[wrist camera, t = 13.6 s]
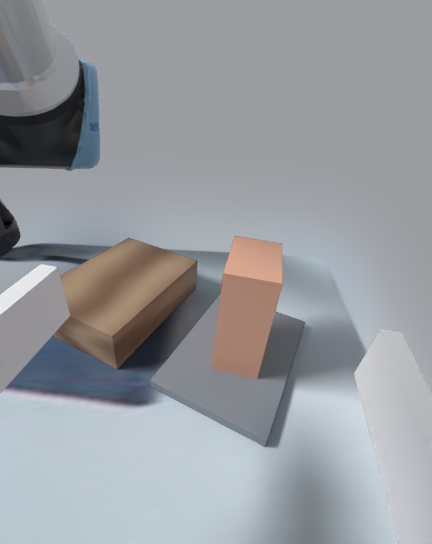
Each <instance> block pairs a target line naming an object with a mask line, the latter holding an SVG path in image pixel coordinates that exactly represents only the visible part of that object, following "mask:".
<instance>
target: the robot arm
mask: <svg viewBox="0 0 432 544" xmlns="http://www.w3.org/2000/svg"><path fill="white" fill-rule="evenodd" d="M98 103H99V100H98V82H97V71H96V68H95V67H94V66H93V65H92V64H91V63H88V62H85V61H84V60H81V59H78V58H77V55H76V52H75V49H74V47H73V45H72V44H71V42H70V40H69V39H68V38H67V36H66V35H65V34H64V33H63V32H62V31H61V30H60V29H59V28H58V27H57V26H55V25H54V24H53V23H51V22H50V21H49V17H48V14H47V11H46V7H45V4H44V1H43V0H0V167H8V168H49V169H66V170H68V171H70V170H73V169H89V168H93V167H94V166H96V165H97V164H98V162H99V159H100V133H99V104H98ZM19 239H20V232H19V228H18V225H17V222H16V220H15V218H14V217H13V215H12V214H11V213H10V211H9V210H8V209H7V208H6V206H5V205H4V204H3V202H2V201H1V200H0V255H1V254H3V253H5V252H7V251H8V250H10V249H11V248H12V247H13V246H15V245H16V244H17V242H18V241H19ZM69 316H70V312H69V309H68V305H67V301H66V297H65V293H64V290H63V286H62V282H61V278H60V274H59V271H58V267H54V266H49V265H44V264H40V265H39V266H38V267H36V268H35V269H34V270H32V271H31V272H30V273H28V274H27V275H26V276H24V277H23V278H22V279H20V280H19V281H18V282H16V283H15V284H14V285H13V286H11V287H10V288H9V289H7V290H6V291H5V292H3V293H2V294H1V295H0V393H1V392H2V391H3V390H4V389H5V388H6V387H7V385H8V384H9V383H10V382H11V381H12V380H13V379H14V378H15V377H16V375H17V374H18V373H19V372H20V371H21V370H22V369H23V368H24V367H25V365H26V364H27V363H28V362H29V361H30V360H31V359H32V358H33V356H34V355H35V354H36V353H37V352H38V351H39V350H40V349H41V348H42V346H43V345H44V344H45V343H46V342H47V341H48V340H49V339H50V338H51V336H52V335H53V334H54V333H55V332H56V331H57V330H58V329H59V327H60V326H61V325H62V324H63V323H64V322H65V321H66V320H67V319H68V317H69ZM354 376H355V380H356V384H357V388H358V392H359V395H360V399H361V403H362V407H363V411H364V414H365V418H366V422H367V426H368V430H369V433H370V437H371V441H372V445H373V449H374V453H375V456H376V460H377V464H378V468H379V472H380V475H381V479H382V483H383V487H384V491H385V494H386V498H387V502H388V506H389V510H390V514H391V517H392V521H393V525H394V529H395V533H396V536H397V540H398V544H432V392H431V390H430V388H429V386H428V384H427V382H426V380H425V378H424V376H423V374H422V372H421V370H420V368H419V366H418V364H417V362H416V360H415V358H414V356H413V354H412V352H411V350H410V348H409V346H408V344H407V342H406V340H405V338H404V336H403V334H402V333H401V332H397V331H392V330H387V329H380V330H379V332H378V334H377V335H376V337H375V339H374V341H373V342H372V344H371V346H370V347H369V349H368V351H367V352H366V354H365V356H364V357H363V359H362V361H361V363H360V364H359V366H358V368H357V369H356V371H355V373H354Z"/></svg>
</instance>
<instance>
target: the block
mask: <svg viewBox="0 0 432 544" xmlns="http://www.w3.org/2000/svg"><path fill="white" fill-rule="evenodd" d="M282 284H283V278H282V244H281V243H275V242H269V241H263V240H257V239H250V238H244V237H239V236H235V237H234V240H233V243H232V247H231V250H230V253H229V256H228V259H227V263H226V266H225V269H224V272H223V279H222V287H221V295H220V303H219V311H218V319H217V328H216V336H215V344H214V352H213V360H212V368H211V369H214V370H219V371H223V372H228V373H233V374H237V375H242V376H247V377H251V378H256V379H257V378H258V374H259V370H260V367H261V363H262V359H263V355H264V352H265V348H266V344H267V340H268V337H269V333H270V329H271V325H272V322H273V318H274V314H275V310H276V307H277V303H278V299H279V295H280V292H281V288H282Z"/></svg>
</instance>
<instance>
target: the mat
mask: <svg viewBox="0 0 432 544" xmlns="http://www.w3.org/2000/svg"><path fill="white" fill-rule="evenodd" d="M220 295H221V293H220V294H219V296H218V297H217V298H216V299H215V301H214V302H213V303H212V304H211V306H210V307H209V308H208V309H207V311H206V312H205V313H204V314H203V316H202V317H201V318H200V319H199V320H198V322H197V323H196V324H195V325H194V327H193V328H192V329H191V330H190V332H189V333H188V334H187V335H186V337H185V338H184V339H183V340H182V342H181V343H180V344H179V345H178V346H177V348H176V349H175V350H174V351H173V353H172V354H171V355H170V356H169V358H168V359H167V360H166V361H165V363H164V364H163V365H162V366H161V368H160V369H159V370H158V371H157V372H156V374H155V375H154V376H153V377H152V379H151V380H150V387H152V388H154V389H156V390H158V391H160V392H162V393H163V394H165V395H167V396H169V397H171V398H173V399H175V400H177V401H179V402H181V403H182V404H184V405H186V406H188V407H190V408H192V409H194V410H196V411H198V412H200V413H202V414H203V415H205V416H207V417H209V418H211V419H213V420H215V421H217V422H219V423H221V424H223V425H224V426H226V427H228V428H230V429H232V430H234V431H236V432H238V433H240V434H242V435H243V436H245V437H247V438H249V439H251V440H253V441H255V442H257V443H259V444H261V445H263V446H264V447H265V445H266V443H267V440H268V437H269V433H270V430H271V427H272V424H273V421H274V418H275V415H276V411H277V408H278V405H279V402H280V399H281V396H282V393H283V389H284V386H285V383H286V380H287V377H288V374H289V371H290V367H291V364H292V361H293V358H294V355H295V352H296V349H297V345H298V342H299V339H300V336H301V333H302V330H303V327H304V324H305V322H303V321H300V320H298V319H295V318H292V317H289V316H287V315H284V314H281V313H278V312H276V311H275V314H274V318H273V322H272V325H271V329H270V333H269V337H268V340H267V344H266V348H265V352H264V355H263V359H262V363H261V367H260V370H259V374H258V378H257V379H256V378H251V377H247V376H242V375H237V374H233V373H228V372H223V371H219V370H214V369H211V368H212V360H213V352H214V344H215V336H216V328H217V319H218V311H219V303H220Z"/></svg>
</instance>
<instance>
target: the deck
mask: <svg viewBox="0 0 432 544" xmlns="http://www.w3.org/2000/svg"><path fill="white" fill-rule="evenodd" d="M196 273H197V260H194V259H191V258H188V257H185V256H182V255H179V254H176V253H173V252H170V251H167V250H164V249H161V248H158V247H155V246H152V245H149V244H146V243H143V242H140V241H137V240H134V239H131V238H128V239H126V240H124V241H122V242H121V243H119V244H117V245H115V246H113V247H112V248H110V249H108V250H106V251H104V252H102V253H101V254H99V255H97V256H95V257H93V258H92V259H90V260H88V261H86V262H84V263H83V264H81V265H79V266H77V267H75V268H74V269H72V270H70V271H68V272H66V273H64V274H63V275H61V276H60V278H61V282H62V286H63V290H64V293H65V297H66V301H67V305H68V309H69V312H70V316H69V317H68V319H67V320H66V321H65V322H64V323H63V324H62V325H61V326H60V327H59V329H58V330H57V331H56V332H55V333H54V334H53V336H55V337H57V338H59V339H61V340H62V341H64V342H66V343H68V344H70V345H72V346H74V347H76V348H78V349H80V350H81V351H83V352H85V353H87V354H89V355H91V356H93V357H95V358H97V359H99V360H101V361H102V362H104V363H106V364H108V365H110V366H112V367H114V368H116V369H118V368H119V367H120V366H121V365H122V364H123V363H124V362H125V361H126V359H127V358H128V357H129V356H130V355H131V354H132V353H133V352H134V351H135V350H136V349H137V348H138V347H139V346H140V345H141V344H142V343H143V342H144V341H145V340H146V339H147V338H148V337H149V336H150V335H151V334H152V333H153V332H154V330H155V329H156V328H157V327H158V326H159V325H160V324H161V323H162V322H163V321H164V320H165V319H166V318H167V317H168V316H169V315H170V314H171V313H172V312H173V311H174V310H175V309H176V308H177V307H178V306H179V305H180V304H181V302H182V301H183V300H184V299H185V298H186V297H187V296H188V295H189V294H190V293H191V292H192V291H193V290H194V289H195V288H196Z"/></svg>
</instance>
